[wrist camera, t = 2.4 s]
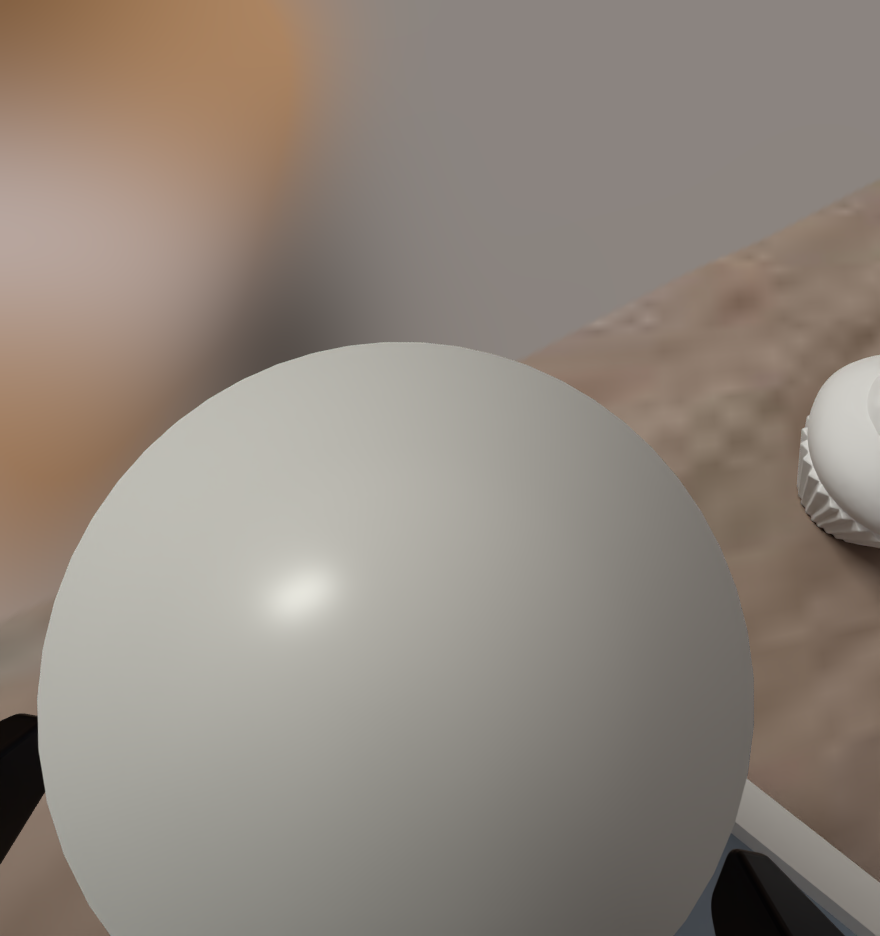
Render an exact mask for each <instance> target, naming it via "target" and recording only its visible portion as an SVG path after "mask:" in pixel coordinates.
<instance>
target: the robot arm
mask: <svg viewBox="0 0 880 936" xmlns="http://www.w3.org/2000/svg"><path fill="white" fill-rule="evenodd" d="M44 793H45V786H44V780H43V774H42V768H41V762H40V756H39V748H38V716H35V715H30V714H16V715H13V716H10V717H8V718H6V719H4V720H1V721H0V864H1V863H2V861H3V859H4V858H5V856H6V854H7V853H8V851H9V850H10V848H11V846H12V845H13V843H14V842H15V840H16V838H17V837H18V835H19V833H20V832H21V830H22V829H23V827H24V825H25V824H26V822H27V820H28V819H29V817H30V816H31V814H32V812H33V811H34V809H35V807H36V806H37V804H38V803H39V801H40V799H41V798H42V796H43V794H44ZM711 914H712V920H713V926H714V931H715V936H845V935H844V934H843V933H842V932H841V931H840V930H839V929H838V928H837V927H836V926H835V925H834V924H833V923H832V922H831V921H830V920H829V919H828V918H827V917H826V916H825V914H824V913H823V912H822V911H821V910H820V909H819V908H818V907H817V906H816V905H815V904H814V903H813V902H812V901H811V900H810V899H809V898H808V897H807V896H806V895H805V894H804V893H803V892H802V891H801V890H800V889H799V888H798V887H797V886H796V885H795V884H794V883H793V882H792V881H791V879H790V878H789V877H788V876H787V875H786V874H785V873H784V872H783V871H782V870H781V869H780V868H779V867H778V866H777V865H776V864H775V863H774V862H773V861H772V860H771V859H770V858H769V857H768V856H766V855H764V854H762V853H758V852H753V851H748V850H743V849H732V850H731V851H730V852H729V853H728V855H727V857H726V859H725V862H724V865H723V867H722V870H721V872H720V875H719V878H718V880H717V883H716V885H715V888H714V890H713V894H712V899H711Z"/></svg>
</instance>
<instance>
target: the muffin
mask: <svg viewBox="0 0 880 936" xmlns="http://www.w3.org/2000/svg"><path fill="white" fill-rule="evenodd" d="M797 488H798V489H799V490H798V496H799V497H800V498H801V499H802V500H801V504H802V505H803V506H804V507H805V511H806V513H807V514H809V515H810V516H811V520H812V521H813V522H816V523H817V526H818V527H821V528H823V529H824V530H825V532H826V533H828V534H833V535H834V537H835V538H836V539H843V540H844V541H845V542H847V543H855V544H857V545H863V546H870V547H877V548H880V355H877V356H872V357H868V358H864V359H861V360H858V361H856V362H853V363H851V364H849V365H847V366H845V367H843V368H841V369H840V370H838V371H837V372H835V373H834V374H833V375H832V376H831V377H830V378H829V379H828V380H827V381H826V382H825V383H824V385H823V386H822V387H821V389H820V391H819V392H818V394H817V396H816V399H815V401H814V404H813V406H812V409H811V412H810V416H807V418H806V425H805V428H803V429H802V432H801V444H800V454H799V465H798V478H797Z"/></svg>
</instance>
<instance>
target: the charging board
mask: <svg viewBox="0 0 880 936" xmlns="http://www.w3.org/2000/svg"><path fill="white" fill-rule="evenodd" d="M732 849H743V850H748V851H753V852H758V853H762V854H764V855H766V856H768V857H769V858H770V859H771V860H772V861H773V862H774V863H775V864H776V865H777V866H778V867H779V868H780V869H781V870H782V871H783V872H784V873H785V874H786V875H787V876H788V877H789V878H790V879H791V881H792V882H793V883H794V884H795V885H796V886H797V887H798V888H799V889H800V890H801V891H802V892H803V893H804V894H805V895H806V896H807V897H808V898H809V899H810V900H811V901H812V902H813V903H814V904H815V905H816V906H817V907H818V908H819V909H820V910H821V911H822V912H823V913H824V914H825V916H826V917H827V918H828V919H829V920H830V921H831V922H832V923H833V924H834V925H835V926H836V927H837V928H838V929H839V930H840V931H841V932H842V933H843V934H844V935H845V936H880V883H879V882H878V881H877V880H875V879H874V878H873V877H872V876H870V875H869V874H868V873H867V872H865V871H864V870H863V869H861V868H860V867H859V866H858V865H856V864H855V863H854V862H853V861H851V860H850V859H849V858H847V857H846V856H845V855H844V854H842V853H841V852H840V851H838V850H837V849H836V848H835V847H833V846H832V845H831V844H830V843H828V842H827V841H826V840H824V839H823V838H822V837H821V836H819V835H818V834H817V833H815V832H814V831H813V830H812V829H810V828H809V827H808V826H807V825H805V824H804V823H803V822H801V821H800V820H799V819H798V818H796V817H795V816H794V815H793V814H791V813H790V812H789V811H787V810H786V809H785V808H784V807H782V806H781V805H780V804H778V803H777V802H776V801H775V800H773V799H772V798H771V797H770V796H768V795H767V794H766V793H764V792H763V791H762V790H761V789H759V788H758V787H757V786H755V785H754V784H753V783H752V782H750V781H749V780H748V779H746V783H745V787H744V790H743V794H742V798H741V802H740V805H739V809H738V813H737V817H736V821H735V824H734V827H733V829H732V832H731V834H730V836H729V839H728V841H727V844H726V846H725V848H724V851H723V853H722V856H721V858H720V860H719V863H718V865H717V867H716V870H715V872H714V874H713V876H712V878H711V879H710V881H709V883H708V884H707V886H706V888H705V889H704V891H703V893H702V894H701V896H700V898H699V899H698V901H697V903H696V904H695V906H694V908H693V909H692V911H691V913H690V914H689V916H688V918H687V919H686V921H685V922H684V923H683V925H682V926H681V927H680V928H679V929H678V931H677V932H676V933H675V934H674V936H715V931H714V926H713V920H712V914H711V899H712V894H713V890H714V888H715V885H716V883H717V880H718V878H719V875H720V872H721V870H722V867H723V865H724V862H725V859H726V857H727V855H728V853H729V852H730V851H731V850H732Z"/></svg>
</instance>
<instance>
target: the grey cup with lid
mask: <svg viewBox="0 0 880 936" xmlns="http://www.w3.org/2000/svg"><path fill="white" fill-rule="evenodd" d="M37 706H38V748H39V756H40V762H41V768H42V774H43V780H44V786H45V792H46V798H47V803H48V807H49V810H50V813H51V816H52V819H53V822H54V825H55V828H56V832H57V835H58V838H59V841H60V844H61V847H62V850H63V853H64V856H65V858H66V860H67V862H68V864H69V866H70V868H71V870H72V872H73V874H74V876H75V878H76V880H77V882H78V884H79V886H80V888H81V890H82V892H83V894H84V896H85V898H86V900H87V902H88V904H89V906H90V907H91V909H92V910H93V911H94V913H95V914H96V916H97V917H98V918H99V920H100V921H101V923H102V924H103V926H104V927H105V928H106V930H107V931H108V933H109V934H110V935H111V936H674V934H675V933H676V932H677V931H678V929H679V928H680V927H681V926H682V925H683V923H684V922H685V921H686V919H687V918H688V916H689V914H690V913H691V911H692V909H693V908H694V906H695V904H696V903H697V901H698V899H699V898H700V896H701V894H702V893H703V891H704V889H705V888H706V886H707V884H708V883H709V881H710V879H711V878H712V876H713V874H714V872H715V870H716V867H717V865H718V863H719V860H720V858H721V856H722V853H723V851H724V848H725V846H726V844H727V841H728V839H729V836H730V834H731V832H732V829H733V827H734V824H735V821H736V817H737V813H738V809H739V805H740V802H741V798H742V794H743V790H744V787H745V783H746V779H747V775H748V768H749V760H750V752H751V744H752V736H753V728H754V677H753V669H752V662H751V654H750V646H749V639H748V631H747V627H746V624H745V620H744V616H743V612H742V608H741V604H740V600H739V597H738V593H737V589H736V586H735V583H734V581H733V578H732V576H731V573H730V571H729V568H728V566H727V563H726V560H725V558H724V555H723V553H722V550H721V548H720V546H719V544H718V542H717V540H716V538H715V536H714V535H713V533H712V531H711V529H710V527H709V525H708V523H707V521H706V520H705V518H704V516H703V514H702V512H701V510H700V509H699V508H698V506H697V505H696V503H695V502H694V500H693V499H692V497H691V496H690V494H689V493H688V492H687V490H686V489H685V487H684V486H683V484H682V483H681V481H680V480H679V478H678V477H677V476H676V475H675V474H674V473H673V471H672V470H671V469H670V468H669V467H668V466H667V465H666V463H665V462H664V461H663V460H662V459H661V458H660V456H659V455H658V454H657V453H656V452H655V451H654V450H653V448H652V447H651V446H649V445H648V444H647V443H646V442H645V441H644V440H643V439H642V438H641V437H640V436H639V435H638V434H636V433H635V432H634V431H633V430H632V429H631V428H630V427H629V426H628V425H627V424H626V423H625V422H623V421H622V420H621V419H619V418H618V417H617V416H615V415H614V414H613V413H611V412H610V411H609V410H607V409H606V408H604V407H603V406H602V405H600V404H599V403H598V402H596V401H595V400H594V399H592V398H590V397H589V396H587V395H585V394H583V393H582V392H580V391H578V390H577V389H575V388H573V387H572V386H570V385H568V384H566V383H565V382H563V381H561V380H559V379H557V378H555V377H552V376H550V375H548V374H546V373H543V372H541V371H539V370H537V369H535V368H532V367H530V366H528V365H525V364H522V363H519V362H516V361H513V360H510V359H507V358H504V357H501V356H498V355H494V354H490V353H486V352H482V351H477V350H472V349H467V348H463V347H458V346H449V345H441V344H432V343H423V342H382V343H372V344H363V345H352V346H346V347H341V348H336V349H331V350H327V351H321V352H316V353H312V354H309V355H306V356H302V357H299V358H296V359H293V360H290V361H287V362H284V363H280V364H277V365H275V366H273V367H271V368H268V369H266V370H264V371H261V372H259V373H257V374H254V375H252V376H250V377H247V378H245V379H243V380H241V381H239V382H237V383H236V384H234V385H232V386H230V387H229V388H227V389H225V390H224V391H222V392H220V393H218V394H216V395H215V396H213V397H211V398H210V399H208V400H207V401H205V402H204V403H202V404H201V405H200V406H198V407H197V408H195V409H194V410H193V411H191V412H190V413H189V414H187V415H186V416H184V417H183V418H182V419H180V420H179V421H177V422H176V423H175V424H174V425H173V426H172V427H171V428H169V429H168V430H167V431H166V432H165V433H164V434H163V435H162V436H161V437H160V438H158V439H157V440H156V441H155V442H154V443H153V444H152V445H151V446H150V447H149V448H147V449H146V450H145V451H144V453H143V454H142V455H141V456H140V457H139V458H138V460H137V461H136V462H135V463H134V464H133V465H132V466H131V467H130V469H129V470H128V471H127V472H126V473H125V474H124V475H123V476H122V477H121V479H120V480H119V481H118V482H117V484H116V485H115V486H114V488H113V489H112V491H111V492H110V494H109V495H108V497H107V498H106V500H105V501H104V502H103V504H102V505H101V507H100V508H99V509H98V511H97V512H96V514H95V515H94V517H93V518H92V520H91V522H90V524H89V526H88V527H87V529H86V531H85V533H84V535H83V537H82V539H81V541H80V542H79V544H78V546H77V548H76V550H75V552H74V554H73V556H72V558H71V560H70V563H69V565H68V568H67V571H66V573H65V576H64V578H63V581H62V583H61V586H60V589H59V591H58V594H57V596H56V599H55V602H54V606H53V610H52V614H51V618H50V622H49V626H48V630H47V634H46V638H45V642H44V646H43V652H42V661H41V670H40V679H39V688H38V697H37Z"/></svg>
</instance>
